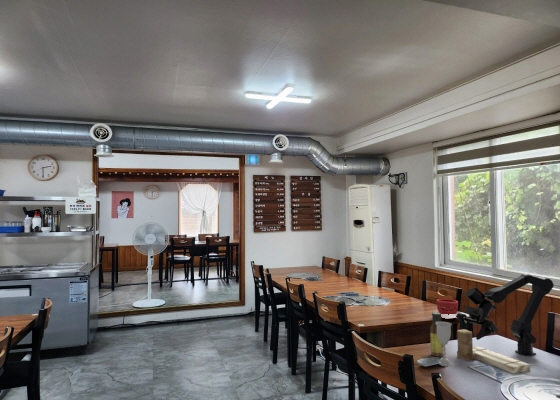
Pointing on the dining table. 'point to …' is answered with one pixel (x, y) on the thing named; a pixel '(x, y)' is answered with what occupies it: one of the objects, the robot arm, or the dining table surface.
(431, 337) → the sauce bottle
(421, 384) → the dining table surface
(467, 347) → the tan pillar on plinth
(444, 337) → the chalice
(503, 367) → the board
